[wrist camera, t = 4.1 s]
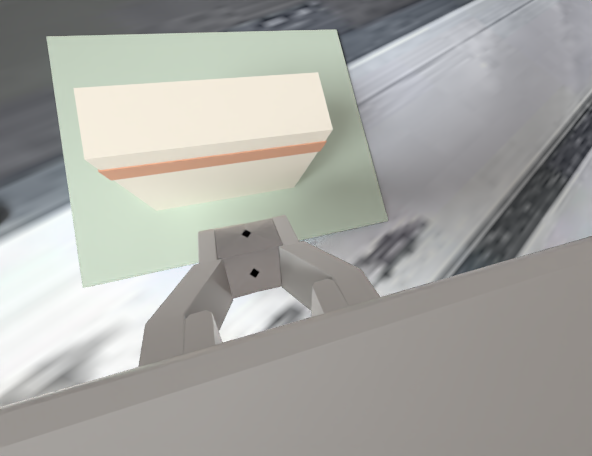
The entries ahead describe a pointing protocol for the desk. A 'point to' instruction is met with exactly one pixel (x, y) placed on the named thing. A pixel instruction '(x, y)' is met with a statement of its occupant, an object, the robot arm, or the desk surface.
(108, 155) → the card box
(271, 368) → the robot arm
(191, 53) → the mat
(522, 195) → the desk surface
